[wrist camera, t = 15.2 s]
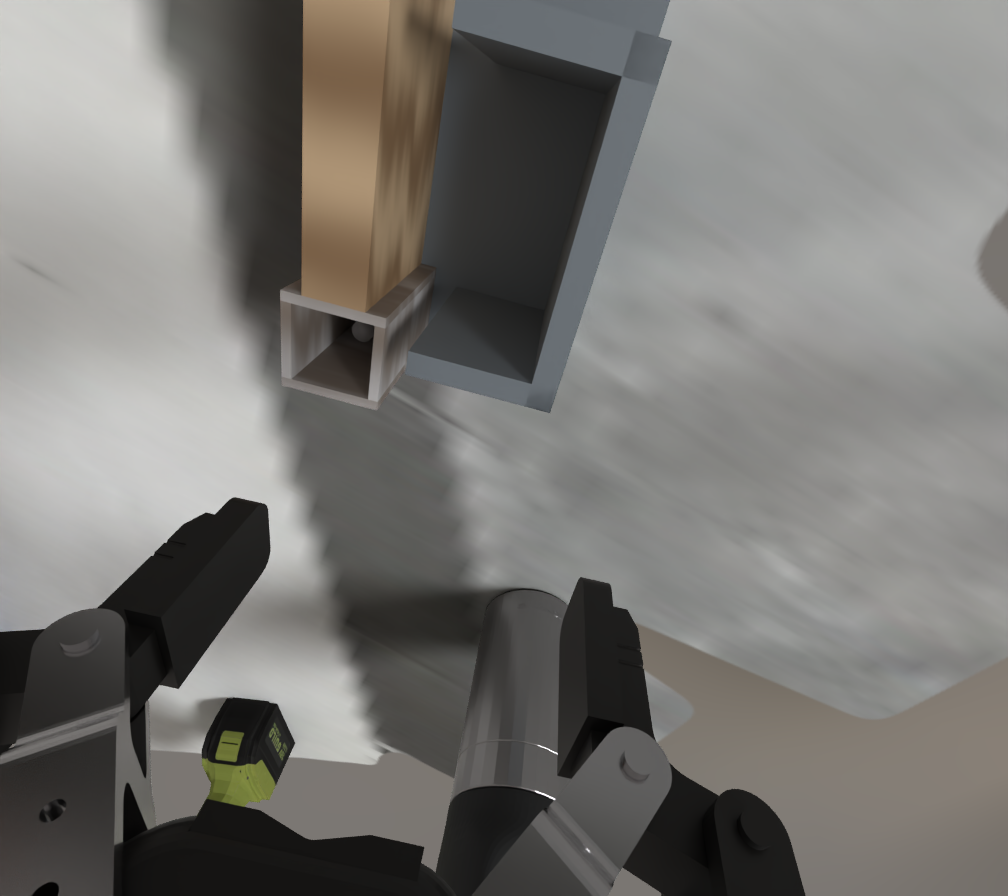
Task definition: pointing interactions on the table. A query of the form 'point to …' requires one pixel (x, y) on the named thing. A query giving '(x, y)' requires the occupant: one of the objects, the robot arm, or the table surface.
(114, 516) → the table surface
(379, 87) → the door
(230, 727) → the cordless drill
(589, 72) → the grey corner bracket
